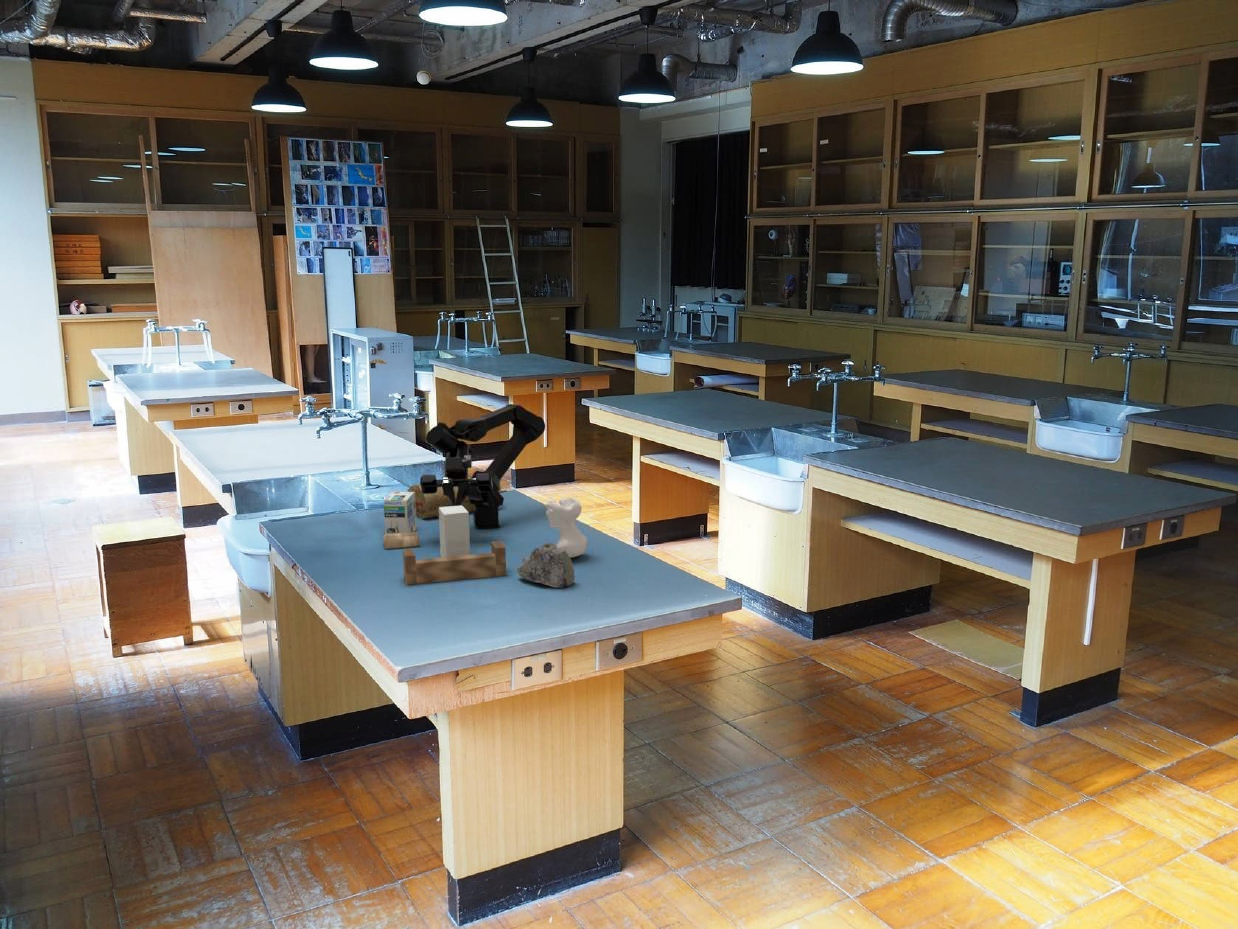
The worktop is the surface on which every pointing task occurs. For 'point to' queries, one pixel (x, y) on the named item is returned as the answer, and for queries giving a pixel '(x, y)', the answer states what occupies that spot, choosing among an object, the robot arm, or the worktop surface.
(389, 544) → the roller
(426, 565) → the stop rail
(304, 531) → the worktop surface
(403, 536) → the roller
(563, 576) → the mineral rock
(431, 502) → the core sample
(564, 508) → the white bust sculpture
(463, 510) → the small box
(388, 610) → the worktop surface
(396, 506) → the light bulb box
